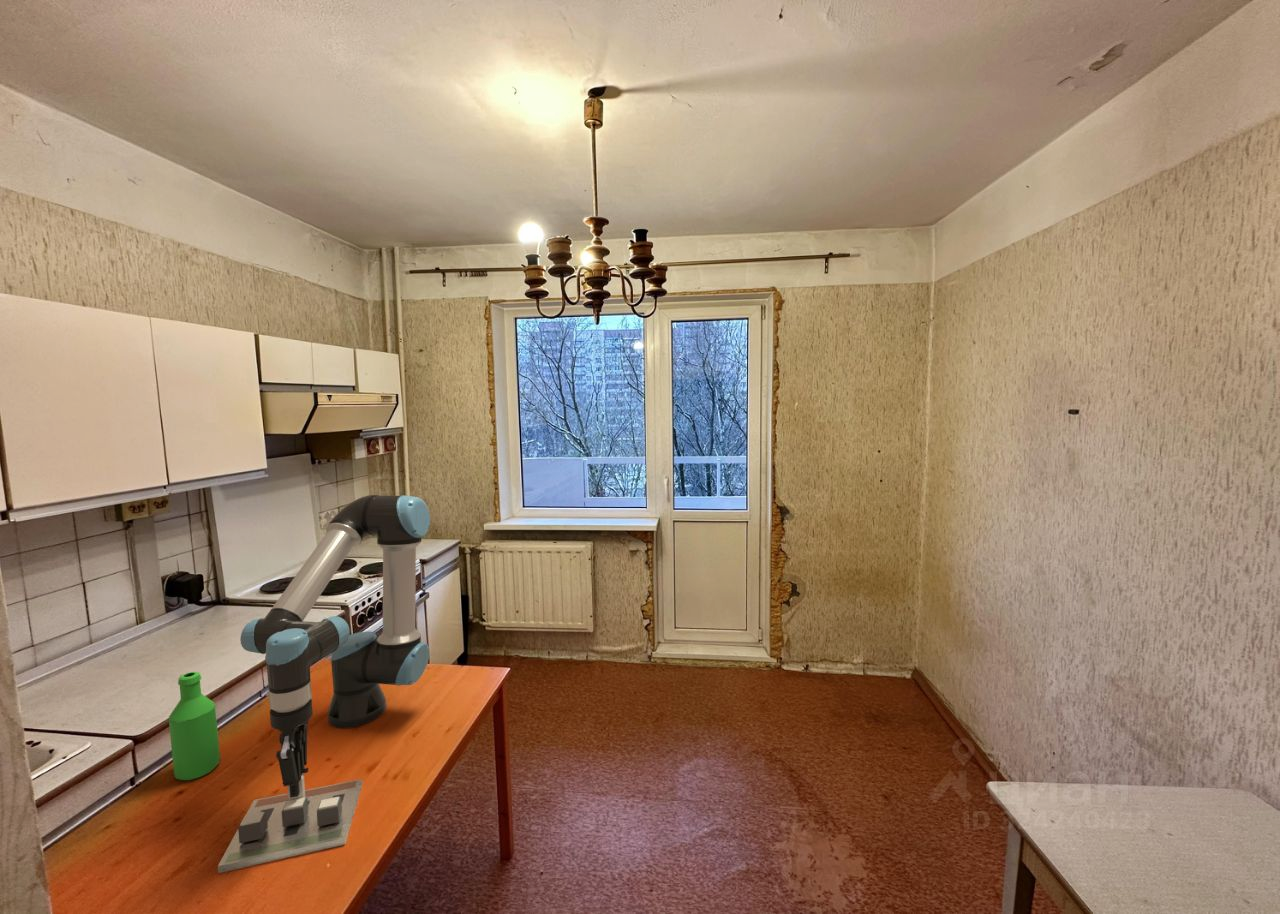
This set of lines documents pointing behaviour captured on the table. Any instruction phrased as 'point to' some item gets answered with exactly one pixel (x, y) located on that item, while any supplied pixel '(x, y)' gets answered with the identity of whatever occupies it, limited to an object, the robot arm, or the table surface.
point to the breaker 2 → (295, 812)
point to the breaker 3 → (329, 811)
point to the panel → (294, 828)
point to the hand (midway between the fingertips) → (297, 805)
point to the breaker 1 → (252, 827)
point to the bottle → (193, 731)
